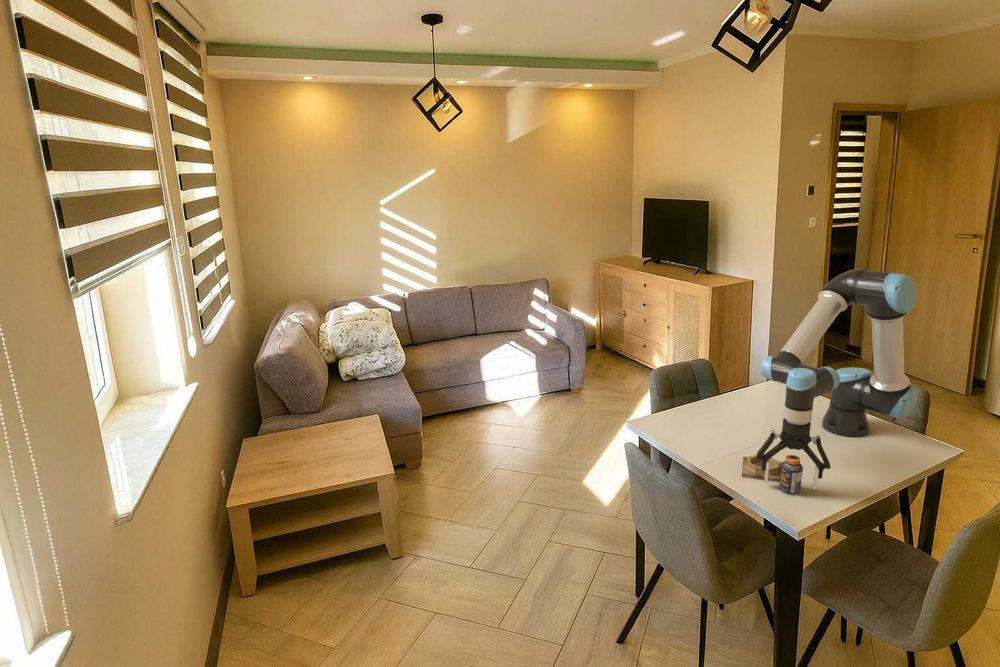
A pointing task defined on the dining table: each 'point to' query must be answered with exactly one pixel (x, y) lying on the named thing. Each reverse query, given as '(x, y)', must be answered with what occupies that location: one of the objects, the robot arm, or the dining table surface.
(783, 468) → the pill bottle
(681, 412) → the dining table surface
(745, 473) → the socket board
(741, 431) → the dining table surface
